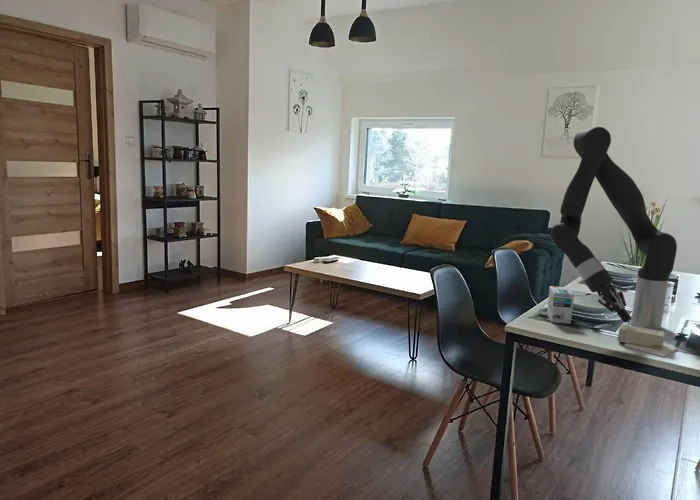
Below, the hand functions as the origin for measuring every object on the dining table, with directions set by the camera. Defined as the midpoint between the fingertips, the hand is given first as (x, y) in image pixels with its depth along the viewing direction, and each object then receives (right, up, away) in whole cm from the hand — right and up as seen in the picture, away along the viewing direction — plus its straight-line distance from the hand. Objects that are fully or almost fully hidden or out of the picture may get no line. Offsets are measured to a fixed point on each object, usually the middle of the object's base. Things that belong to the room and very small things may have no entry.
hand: (628, 320), depth 162 cm
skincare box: (-1, -4, +4) cm, 5 cm away
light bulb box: (-12, -3, +24) cm, 27 cm away
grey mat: (+6, -8, -2) cm, 10 cm away
